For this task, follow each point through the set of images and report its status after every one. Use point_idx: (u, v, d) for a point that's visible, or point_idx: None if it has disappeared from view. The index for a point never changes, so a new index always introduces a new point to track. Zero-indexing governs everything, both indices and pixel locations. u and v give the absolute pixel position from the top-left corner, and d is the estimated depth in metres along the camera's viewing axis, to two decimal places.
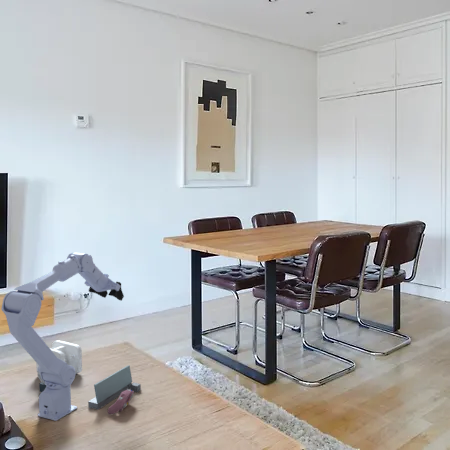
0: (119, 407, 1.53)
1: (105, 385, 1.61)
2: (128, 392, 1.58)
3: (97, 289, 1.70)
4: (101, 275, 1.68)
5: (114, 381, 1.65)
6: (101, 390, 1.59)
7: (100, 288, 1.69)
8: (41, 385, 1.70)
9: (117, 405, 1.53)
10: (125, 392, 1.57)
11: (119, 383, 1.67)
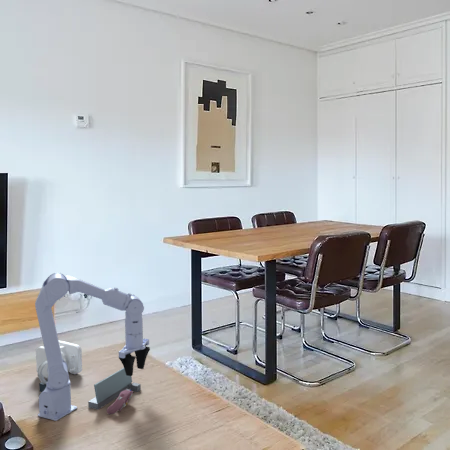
0: (118, 407, 1.53)
1: (105, 385, 1.61)
2: (127, 392, 1.58)
3: None
4: (131, 335, 1.60)
5: (114, 381, 1.65)
6: (101, 390, 1.59)
7: None
8: (41, 385, 1.70)
9: (116, 405, 1.53)
10: (124, 392, 1.57)
11: (119, 383, 1.67)
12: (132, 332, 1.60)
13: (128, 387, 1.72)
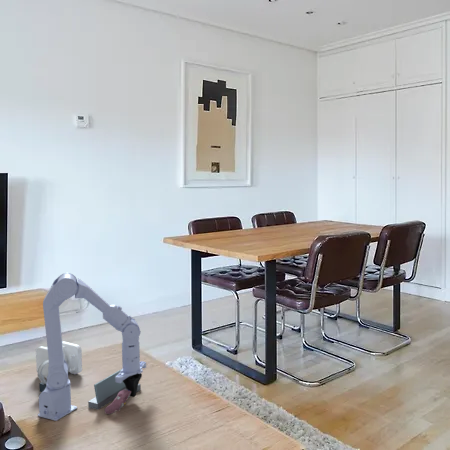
0: (116, 407, 1.53)
1: (105, 385, 1.61)
2: (125, 392, 1.58)
3: None
4: (128, 359, 1.59)
5: (114, 381, 1.65)
6: (101, 390, 1.59)
7: None
8: (41, 385, 1.70)
9: (114, 405, 1.53)
10: (122, 392, 1.57)
11: (119, 383, 1.67)
12: (128, 356, 1.59)
13: None
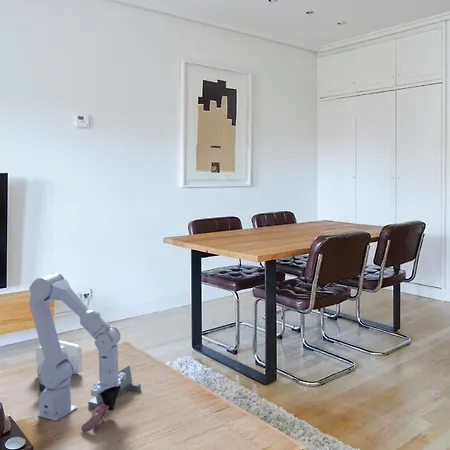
0: (94, 424, 1.43)
1: None
2: (103, 407, 1.47)
3: None
4: (105, 371, 1.49)
5: None
6: None
7: None
8: (41, 385, 1.70)
9: (92, 422, 1.43)
10: (100, 407, 1.47)
11: None
12: (101, 367, 1.49)
13: (128, 387, 1.72)
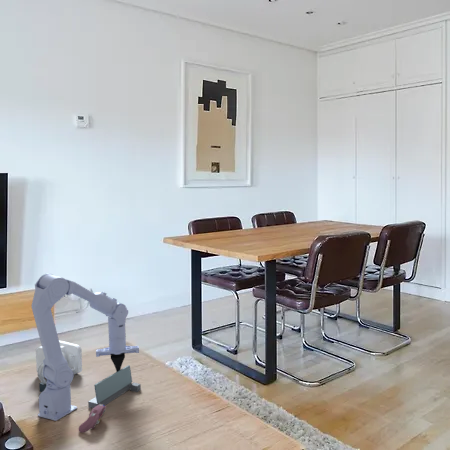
0: (91, 424, 1.43)
1: (105, 385, 1.61)
2: (100, 407, 1.47)
3: None
4: (109, 338, 1.68)
5: (114, 381, 1.65)
6: (101, 390, 1.59)
7: None
8: (41, 385, 1.70)
9: (89, 422, 1.43)
10: (97, 408, 1.47)
11: (119, 383, 1.67)
12: (118, 336, 1.67)
13: (128, 387, 1.72)
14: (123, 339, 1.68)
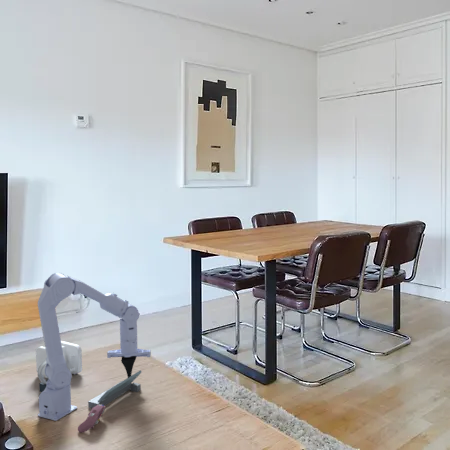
0: (91, 424, 1.43)
1: (114, 390, 1.60)
2: (100, 407, 1.47)
3: None
4: (120, 339, 1.66)
5: (122, 385, 1.64)
6: (108, 394, 1.58)
7: None
8: (41, 385, 1.70)
9: (88, 422, 1.43)
10: (96, 408, 1.47)
11: (123, 385, 1.66)
12: (128, 338, 1.65)
13: (128, 387, 1.72)
14: (134, 342, 1.66)
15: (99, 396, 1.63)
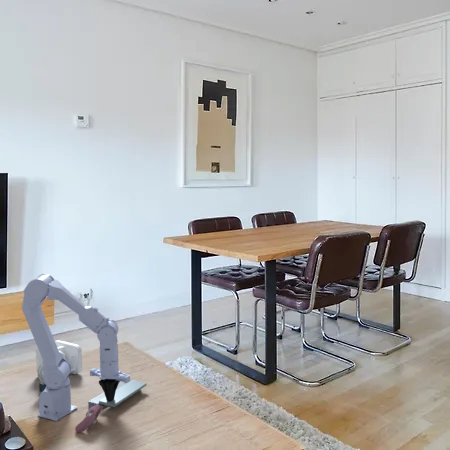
0: (88, 424, 1.43)
1: None
2: (97, 407, 1.47)
3: None
4: None
5: None
6: None
7: None
8: (41, 385, 1.70)
9: (86, 422, 1.43)
10: (94, 408, 1.47)
11: None
12: (104, 359, 1.54)
13: None
14: (110, 364, 1.54)
15: (99, 396, 1.63)
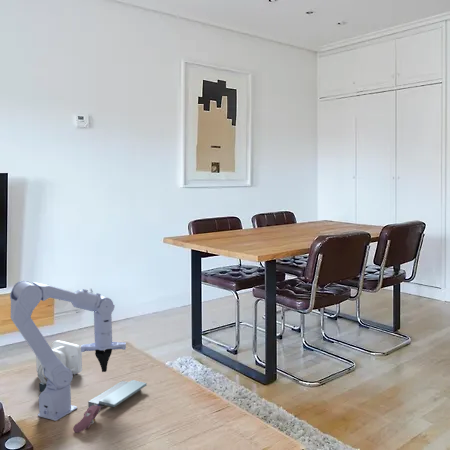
0: (86, 424, 1.43)
1: None
2: (95, 407, 1.47)
3: None
4: (94, 333, 1.63)
5: None
6: None
7: None
8: (41, 385, 1.70)
9: (84, 422, 1.43)
10: (92, 408, 1.47)
11: None
12: (103, 331, 1.61)
13: None
14: (109, 335, 1.63)
15: (99, 396, 1.63)
